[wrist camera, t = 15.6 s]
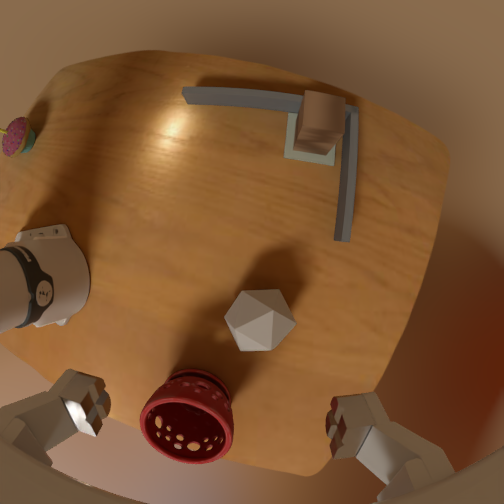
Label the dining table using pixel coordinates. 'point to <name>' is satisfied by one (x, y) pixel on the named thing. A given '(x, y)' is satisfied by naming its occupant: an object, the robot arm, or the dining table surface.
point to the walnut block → (319, 123)
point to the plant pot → (190, 417)
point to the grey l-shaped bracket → (293, 105)
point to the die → (259, 319)
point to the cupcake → (18, 137)
